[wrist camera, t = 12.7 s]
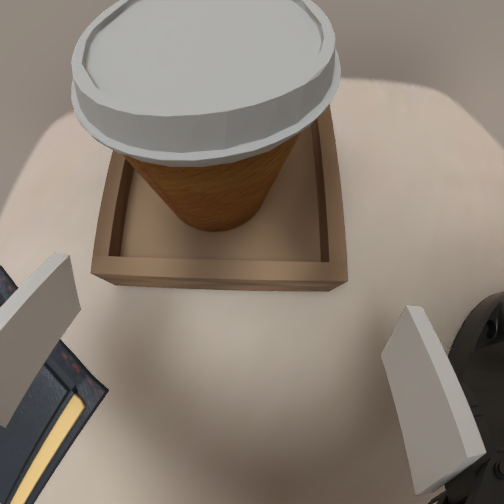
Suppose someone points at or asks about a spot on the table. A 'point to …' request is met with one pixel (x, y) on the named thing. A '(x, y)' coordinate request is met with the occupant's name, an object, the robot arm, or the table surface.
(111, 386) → the table surface
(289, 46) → the disposable coffee cup
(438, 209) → the table surface
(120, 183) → the tray
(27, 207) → the table surface
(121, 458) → the table surface
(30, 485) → the wallet
